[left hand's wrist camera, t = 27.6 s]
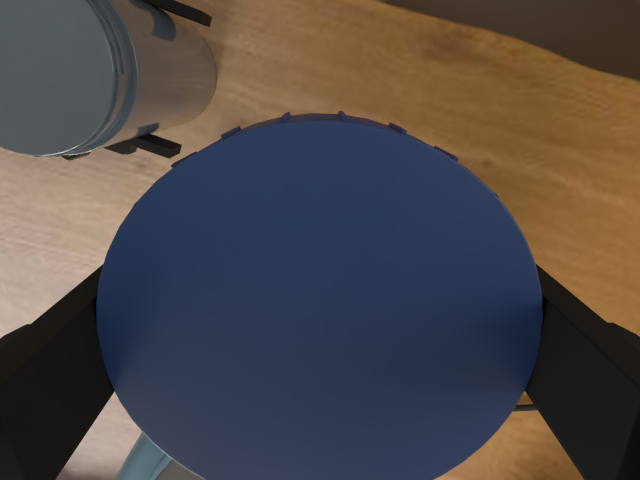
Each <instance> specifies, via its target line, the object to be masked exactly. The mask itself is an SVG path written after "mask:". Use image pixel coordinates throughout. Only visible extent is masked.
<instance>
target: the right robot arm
mask: <svg viewBox="0 0 640 480" xmlns="http://www.w3.org/2000/svg"><path fill="white" fill-rule="evenodd" d="M143 1H145V2H147V3H149V4H152V5H154V6H156V7H158V8H161V9H163V10H166V11H169V12H171V13H174V14H176V15H179V16H182V17H184V18H187V19H189V20H192V21H195V22H197V23H200V24H202V25H205V26H208V27H210V23H211V19H212V17H211V16H209V15H207V14H206V13H204V12H202V11H200V10H197V9H195V8H192V7H189V6H187V5H184V4H182V3H179V2H177V1H174V0H143ZM181 146H182V145H181V144H178V143H175V142H172V141H169V140H166V139H164V138H161V137H158V136H155V135H152V134H147V135H143V136H140V137H137V138H133V139H130V140H127V141H123V142H120V143H117V144H113V145H110V146H107V147H103V148H105V149H108V150H111V151H114V152H117V153H120V154H131V153H134V152H136V149H137V147H138V148H140V149H143V150H146V151H149V152H152V153H155V154H158V155H161V156H164V157H167V158H171V157H173V156H175V155H177V154H179V153H180V150H181ZM90 153H91V151H90V152H86V153H82V154H77V155H62V156H61V157H63V158H65V159H67V160H73V159H77V158H80V157H83V156H86V155H89V154H90Z"/></svg>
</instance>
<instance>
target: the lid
mask: <svg viewBox="0 0 640 480" xmlns="http://www.w3.org/2000/svg"><path fill="white" fill-rule="evenodd" d="M406 132H407V130H405V129H403V128H401V127H399V126H397V125H395V124H393V123H389V126H388V125H385V124H382V123H379V122H375V121H372V120H369V119H365V118H359V117H353V116H347V115H345V113H344V112H343V111H339V112H338V114H315V113H311V114H302V115H292V116H291V115H290V112H288V113H285V114H284V115H283V116H281V117H280V118H275V119H271V120H267V121H263V122H259V123H256V124H253V125H251V126H248V127H246V128H243V129H241V128H240V126H239V127H236V128H234V129H232V130H230V131H228V132H226V133H224V134H222V135H221V137H222V139H220V140H218V141H217V142H215V143H213V144H211V145H209V146H207V147H206V148H204V149H202V150H200V151H199V152H194V153H192V154H190V155H188V156H186V157H185V158H183V159H181V160H179V161H177V162H175V163H174V164H172V165H171V167H172V169H171V170H170V171H169V172H167V173H166V174H165V175H164V176H162V177H161V178H160V179H158V180H157V181H156V182H155V183H154V184H153V185H152V186H151V187H150V189H149V190H148V191H147V192H146V193H145V194H144V195H143V196H142V197H141V198H140V199H139V200H138V201H137V202H136V203H135V204H134V206H133V208H132V209H131V211H130V212H129V214H128V215H127V217H126V218H125V220H124V221H123V222H122V224H121V225H120V227H119V229H118V231H117V233H116V235H115V237H114V239H113V241H112V243H111V245H110V248H109V250H108V252H107V255H106V258H105V261H104V265H103V268H102V272H101V275H100V278H99V286H98V293H97V301H96V327H97V333H98V338H99V343H100V347H101V352H102V357H103V361H104V365H105V369H106V372H107V375H108V378H109V380H110V382H111V384H112V386H113V388H114V390H115V392H116V394H117V396H118V398H119V400H120V402H121V403H122V405H123V406H124V408H125V409H126V411H127V412H128V414H129V415H130V417H131V418H132V420H133V421H134V422H135V423H136V425H137V426H138V427H139V428H140V429H141V430H142V431H143V433H144V434H145V435H146V436H147V437H148V438H149V439H150V440H151V441H152V442H153V443H154V444H155V445H156V446H157V447H159V448H160V449H161V450H162V451H163V452H164V453H165V454H166V455H168V456H169V457H170V458H172V459H173V460H175V461H176V462H177V463H179V464H180V465H182V466H183V467H184V468H186V469H187V470H189V471H191V472H193V473H194V474H196V475H198V476H200V477H202V478H203V479H205V480H434V479H436V478H438V477H440V476H442V475H443V474H445V473H446V472H448V471H450V470H451V469H453V468H454V467H456V466H457V465H459V464H461V463H462V462H463V461H465V460H466V459H467V458H468V457H470V456H471V455H472V454H473V453H475V452H476V451H477V450H478V449H480V448H481V447H482V446H483V445H484V444H485V443H486V442H487V441H488V440H489V439H490V438H491V437H492V436H493V435H494V434H495V433H496V432H497V431H498V430H499V428H500V427H501V426H502V424H503V423H504V422H505V420H506V419H507V418H508V417H509V415H510V414H511V413H512V411H513V410H514V408H515V406H516V405H517V403H518V401H519V399H520V398H521V396H522V394H523V393H524V391H525V389H526V387H527V384H528V382H529V379H530V377H531V374H532V372H533V370H534V367H535V363H536V359H537V354H538V350H539V345H540V340H541V334H542V324H543V307H542V291H541V286H540V282H539V277H538V272H537V268H536V264H535V261H534V259H533V256H532V254H531V251H530V249H529V246H528V243H527V241H526V239H525V237H524V235H523V233H522V232H521V230H520V228H519V227H518V225H517V223H516V221H515V220H514V218H513V216H512V215H511V213H510V212H509V211H508V210H507V208H506V207H505V206H504V205H503V203H502V202H501V201H500V200H499V199H498V198H499V197H498V195H497V194H495V193H494V192H493V191H492V190H491V189H490V188H488V187H487V186H486V185H485V184H484V183H483V182H482V181H481V180H480V179H479V178H477V177H476V176H475V175H474V174H473V173H472V172H471V171H470V170H468V169H467V168H465V167H464V166H462V165H461V164H459V163H458V162H457V161H458V160H459V158H457V157H456V156H454V155H452V154H450V153H448V152H446V151H444V150H442V149H440V148H439V147H437V146H434V147H432V146H430V145H428V144H426V143H425V142H423V141H421V140H419V139H417V138H415V137H413V136H411V135H409V134H407V133H406Z"/></svg>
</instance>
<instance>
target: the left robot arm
mask: <svg viewBox="0 0 640 480" xmlns="http://www.w3.org/2000/svg"><path fill="white" fill-rule="evenodd" d="M535 264H536V263H535ZM103 265H104V264H103ZM103 265H102V266H101V267H99V268H98V269H97V270H96V271H95V272H93V273H92V274H91V275H90V276H88V277H87V278H86V279H85V280H84V281H82V282H81V283H80V284H79V285H78V286H76V287H75V288H74V289H73V290H72V291H70V292H69V293H68V294H67V295H66V296H64V297H63V298H62V299H61V300H59V301H58V302H57V303H56V304H55V305H53V306H52V307H51V308H50V309H49V310H47V311H46V312H45V313H44V314H43V315H41V316H40V317H39V318H38V319H36V320H35V321H34V322H33V323H32V324H26V325H24V326H22V327H20V328H18V329H17V330H15V331H13V332H11V333H9V334H7V335H5V336H3V337H2V338H0V480H55V479H56V478H57V476H58V475H59V473H60V472H61V470H62V469H63V467H64V466H65V464H66V463H67V461H68V460H69V458H70V457H71V455H72V454H73V452H74V451H75V449H76V448H77V446H78V445H79V443H80V442H81V440H82V439H83V437H84V436H85V434H86V433H87V431H88V430H89V428H90V427H91V426H92V424H93V423H94V421H95V420H96V418H97V417H98V415H99V414H100V412H101V411H102V409H103V408H104V406H105V405H106V403H107V402H108V400H109V399H110V397H111V396H112V394H113V393H114V391H115V390H114V388H113V386H112V384H111V382H110V380H109V378H108V375H107V372H106V369H105V365H104V361H103V357H102V352H101V347H100V343H99V338H98V333H97V327H96V301H97V293H98V286H99V278H100V275H101V272H102V268H103ZM536 268H537V272H538V277H539V282H540V286H541V291H542V307H543V324H542V334H541V340H540V345H539V350H538V354H537V359H536V363H535V367H534V370H533V372H532V374H531V377H530V379H529V382H528V384H527V387H526V389H525V392H526V393H527V395H528V396H529V398H530V399H531V401H532V402H533V404H530V405H516V406H515V408H514V410H513V411H532V410H538V411H539V412H540V414H541V415H542V417H543V418H544V420H545V421H546V423H547V424H548V426H549V427H550V429H551V430H552V432H553V433H554V435H555V436H556V438H557V439H558V441H559V442H560V444H561V445H562V447H563V448H564V450H565V451H566V453H567V454H568V456H569V457H570V459H571V460H572V462H573V463H574V465H575V466H576V468H577V469H578V471H579V472H580V474H581V475H582V477H583V478H584V480H640V337H639V336H638V335H637V334H635V333H633V332H631V331H629V330H627V329H625V328H623V327H621V326H619V325H617V324H615V323H607V322H606V321H604V320H603V319H602V318H601V317H600V316H598V315H597V314H596V313H595V312H594V311H592V310H591V309H590V308H589V307H587V306H586V305H585V304H584V303H583V302H581V301H580V300H579V299H578V298H577V297H575V296H574V295H573V294H572V293H571V292H569V291H568V290H567V289H566V288H565V287H563V286H562V285H561V284H560V283H558V282H557V281H556V280H555V279H554V278H552V277H551V276H550V275H549V274H548V273H546V272H545V271H544V270H543V269H542V268H540V267H539V266H538V265H537V264H536ZM115 480H205V479H203V478H202V477H200V476H198V475H196V474H194V473H193V472H191V471H189V470H187V469H186V468H184V467H183V466H182V465H180V464H179V463H177V462H176V461H175V460H173V459H172V458H170V457H169V456H168V455H166V454H165V453H164V452H163V451H162V450H161V449H160V448H159V447H157V446H156V445H155V444H154V443H153V442H152V441H151V440H150V439H149V438H148V437H147V436H146V435H145V434H144V433H143V432H142V433H141V435H140V436H139V438H138V440H137V441H136V443H135V445H134V446H133V448H132V450H131V451H130V453H129V455H128V457H127V458H126V460H125V462H124V464H123V465H122V467H121V469H120V471H119V473H118V475H117V477H116V479H115Z"/></svg>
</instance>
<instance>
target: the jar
mask: <svg viewBox="0 0 640 480" xmlns="http://www.w3.org/2000/svg"><path fill="white" fill-rule="evenodd" d="M216 79H217V74H216V65H215V60H214V57H213V54H212V51H211V49H210V47H209V45H208V43H207V42H206V40H205V39H204V37H203V36H202V35H201V34H200V32H199V31H198V30H197V29H196V28H195V27H193V26H192V25H191V24H190V23H188V22H187V21H185V20H184V19H182V18H180V17H178V16H176V15H173V14H171V13H169V12H167V11H165V10H163V9H160V8H158V7H156V6H154V5H152V4H149V3H147V2H145V1H143V0H0V147H2V148H5V149H7V150H10V151H14V152H17V153H21V154H27V155H32V156H35V157H49V156H58V157H59V156H62V155H77V154H82V153H86V152H90V151H93V150H97V149H100V148H103V147H107V146H110V145H113V144H117V143H120V142H123V141H127V140H130V139H133V138H137V137H140V136H143V135H147V134H150V133H153V132H157V131H160V130H163V129H167V128H170V127H173V126H177V125H180V124H183V123H186V122H189V121H191V120H193V119H194V118H196V117H197V116H199V115H200V114H201V113H202V112H203V111H204V110H205V109H206V107H207V106H208V105H209V103H210V101H211V99H212V97H213V94H214V91H215V87H216Z"/></svg>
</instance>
